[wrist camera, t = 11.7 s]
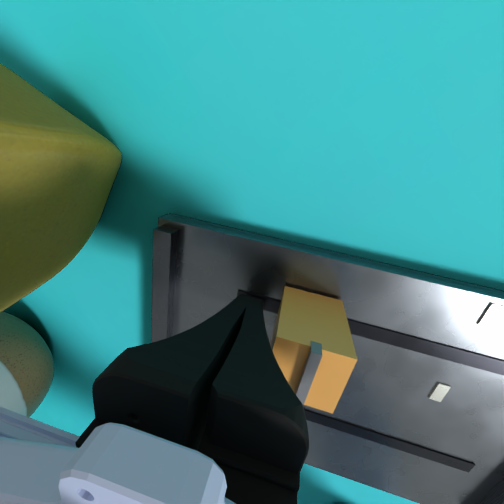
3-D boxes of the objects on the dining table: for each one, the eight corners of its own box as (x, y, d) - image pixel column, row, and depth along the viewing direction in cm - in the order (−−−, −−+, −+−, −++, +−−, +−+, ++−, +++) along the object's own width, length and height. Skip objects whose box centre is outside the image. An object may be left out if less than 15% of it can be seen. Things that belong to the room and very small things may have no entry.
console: (469, 501, 17) (488, 541, 16) (161, 397, 20) (147, 421, 19) (648, 324, 11) (714, 357, 9) (169, 213, 14) (149, 221, 12)
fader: (325, 345, 14) (333, 422, 10) (273, 331, 14) (260, 399, 10) (342, 299, 12) (359, 366, 8) (285, 284, 13) (275, 341, 9)
